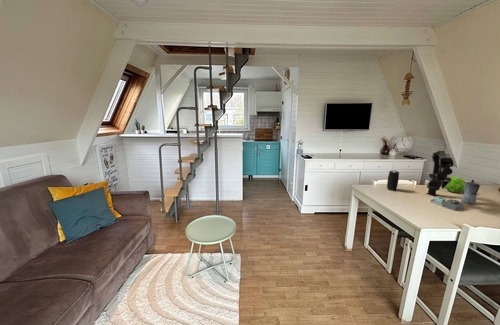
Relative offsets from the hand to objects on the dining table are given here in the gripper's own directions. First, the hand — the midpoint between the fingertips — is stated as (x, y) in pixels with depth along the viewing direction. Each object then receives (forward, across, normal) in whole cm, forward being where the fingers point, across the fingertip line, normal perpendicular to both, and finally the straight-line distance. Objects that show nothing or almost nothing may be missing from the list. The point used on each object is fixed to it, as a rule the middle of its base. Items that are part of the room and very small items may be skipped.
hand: (439, 189), depth 173 cm
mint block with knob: (+12, +2, +2) cm, 12 cm away
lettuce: (+12, -49, -7) cm, 51 cm away
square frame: (+12, +2, +6) cm, 13 cm away
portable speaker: (+12, +2, -37) cm, 39 cm away
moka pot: (+12, -24, +12) cm, 30 cm away
